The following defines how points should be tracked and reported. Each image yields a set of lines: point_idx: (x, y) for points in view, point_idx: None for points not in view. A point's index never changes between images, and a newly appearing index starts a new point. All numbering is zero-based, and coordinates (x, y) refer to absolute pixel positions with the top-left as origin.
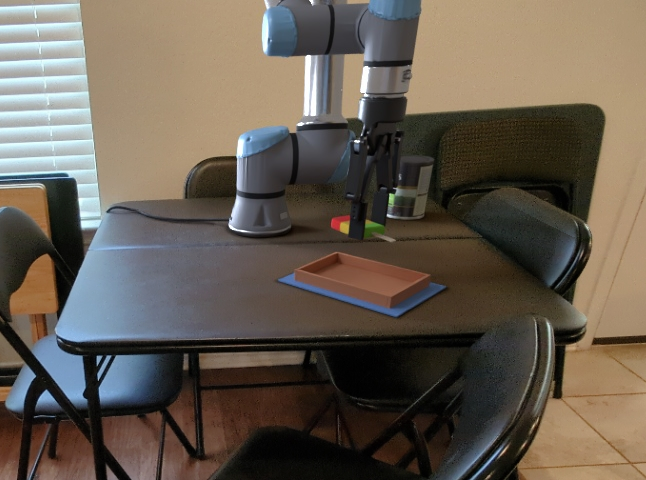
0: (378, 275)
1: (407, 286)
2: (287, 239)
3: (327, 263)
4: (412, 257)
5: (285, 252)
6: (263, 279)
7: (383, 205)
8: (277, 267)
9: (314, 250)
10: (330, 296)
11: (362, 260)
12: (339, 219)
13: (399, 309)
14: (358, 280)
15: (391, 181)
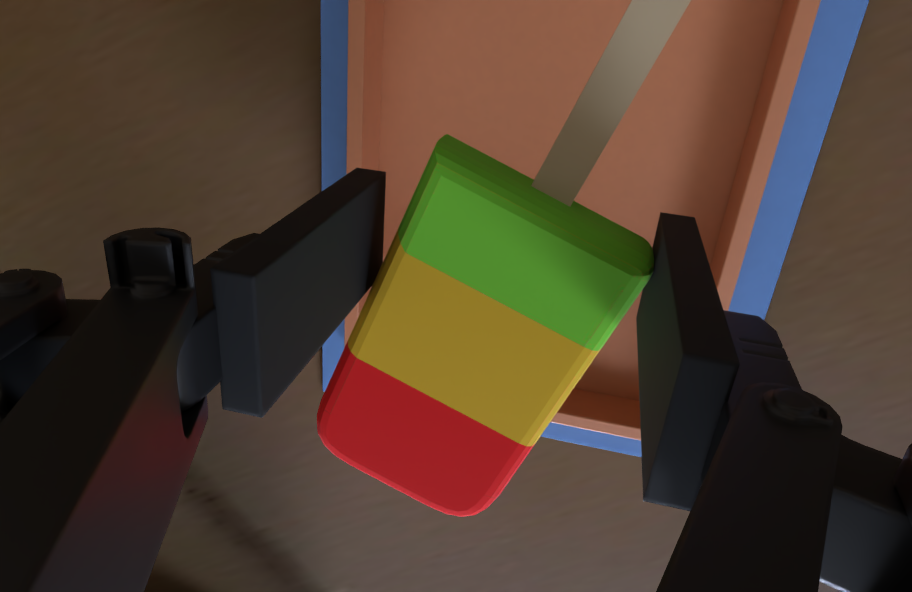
0: (412, 120)
1: None
2: (250, 585)
3: None
4: (66, 95)
5: (380, 549)
6: None
7: (303, 263)
8: (555, 520)
9: (286, 471)
10: (801, 205)
11: None
12: (471, 476)
13: None
14: (534, 174)
15: (97, 341)
